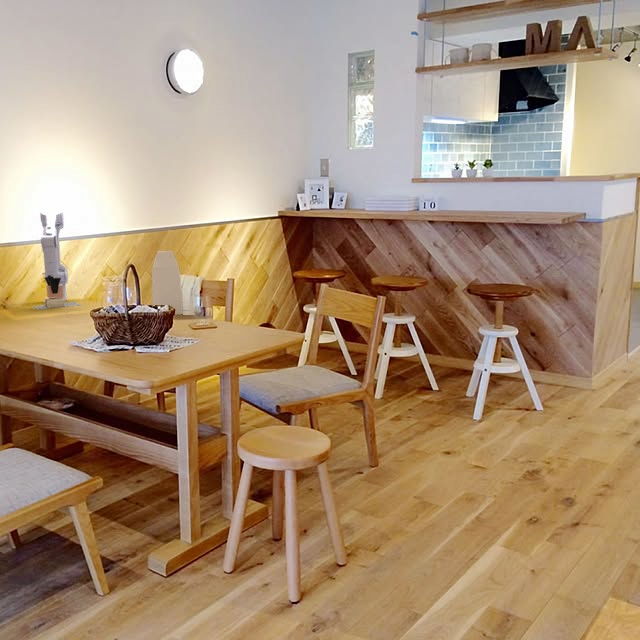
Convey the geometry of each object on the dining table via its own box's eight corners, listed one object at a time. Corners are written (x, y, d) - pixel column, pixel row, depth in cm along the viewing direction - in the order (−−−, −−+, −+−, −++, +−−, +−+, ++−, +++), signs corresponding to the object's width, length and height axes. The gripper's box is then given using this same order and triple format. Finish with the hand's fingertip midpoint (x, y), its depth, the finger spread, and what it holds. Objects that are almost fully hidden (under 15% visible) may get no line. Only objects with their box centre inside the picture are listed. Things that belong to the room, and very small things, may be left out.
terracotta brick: (47, 296, 329) (46, 285, 328) (61, 295, 332) (60, 284, 331) (49, 297, 325) (48, 286, 324) (63, 296, 328) (62, 285, 327)
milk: (152, 315, 303) (148, 252, 299) (155, 311, 314) (151, 250, 310) (182, 314, 304) (178, 251, 300) (183, 310, 316) (180, 249, 311)
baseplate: (32, 309, 330) (31, 306, 330) (75, 305, 340) (74, 302, 340) (38, 312, 319) (37, 309, 319) (82, 308, 329) (82, 305, 329)
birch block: (45, 305, 330) (44, 298, 329) (61, 304, 333) (60, 296, 333) (48, 307, 324) (47, 299, 323) (64, 306, 328) (64, 298, 327)
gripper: (38, 262, 329) (40, 292, 332) (45, 264, 317) (48, 295, 320) (54, 261, 333) (57, 290, 335) (62, 263, 321) (64, 293, 323)
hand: (53, 292), depth 328 cm, fingers closed on terracotta brick, 4 cm apart
